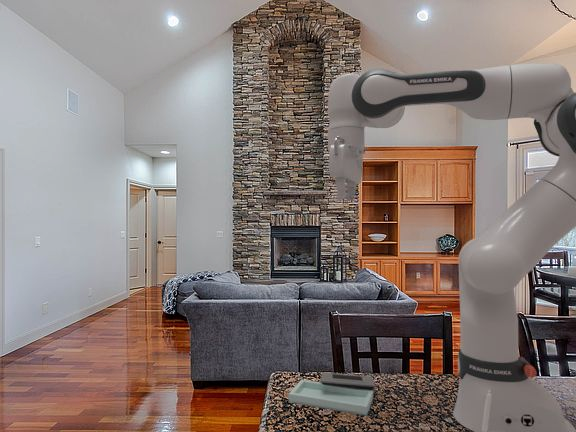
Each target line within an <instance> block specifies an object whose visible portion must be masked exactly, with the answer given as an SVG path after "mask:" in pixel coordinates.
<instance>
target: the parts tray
mask: <svg viewBox="0 0 576 432" xmlns="http://www.w3.org/2000/svg"><path fill="white" fill-rule="evenodd" d="M373 401H374V390H373V389H365V388H364V389H360V388H353V387H342V386H330V385H323V384H322V383H321V381H320V382H319V381H312V380H307V379H300V380H299V382H298V383H297V384H296V385H295V386H294V387H293V388H292V390H290V392H289V393H288V403H290V404H294V405H295V404H296V405H302V406H308V407H313V408H320V409H326V410H331V411H336V412H343V413H348V414H353V415H358V416H359V415H360V416H366V417H367V416H368V414H369V411H370V409H371V407H372V403H373Z"/></svg>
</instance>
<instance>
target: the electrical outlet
mask: <svg viewBox="0 0 576 432" xmlns="http://www.w3.org/2000/svg"><path fill="white" fill-rule="evenodd" d="M320 382H321V383H322V384H323V385H330V386H342V387H353V388H360V389H367V390H373V389H375V388H376V386H377V385H376V383H375V381H374V379H373V377H372V376H370V375H357V374H348V373H347V374H346V373H336V372H335V373H334V372H321V378H320Z"/></svg>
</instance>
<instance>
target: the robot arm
mask: <svg viewBox="0 0 576 432" xmlns="http://www.w3.org/2000/svg"><path fill="white" fill-rule="evenodd" d="M327 98H328V99H327V116H328V121H329V124H328V127H327V128H328V129H327V150H328V153H329V155H328V173H329V177H330V178H333V179H334V180H335V188H336V191H337V192H336V193H337V195H336V196H337V198H338V199H341V200H342V199H346V201H348V202H349V201H351V202H352V201H355V195H356V194H355V193H356V189H357V185H360V184H361V182H362V177H363V166H364V165H363V161H364V160H363V158H364V155H365V154H366V145H365V128H366V127H368V128H376V129H388V128H391V127H393V126H394V127H395V125H397V124H398V123H399V122H400V121H401V119H402V118H403V116H404V113H405V109H406V108H405V107H409V106H426V105H447V106H452V107H454V108H456V109H458V110H460V111H462V112H463V113H464V114H465V115H466V116H468V117H469V118H471V119H474V120H483V121H484V120H486V121H497V120H502V121H503V120H509V119H511V120H512V119H522V118H527V119H528V118H529V119H534V120H533V125H534V129H535V130H536V133H537V136H538V139H539V142H540V145H541V146H542V148H543V149H544V150H545V151H546V152H547V153H548V154H551V155H552V156H555V157H558V160H557V161H556V163H555V165H554V166H553V167H552V168H551V169H550V170H549V171H548V172H547V173H546V174H545V175H543V176H542V177H541V178H540V179H539V180H538V181H537V182H536V183H535V184H533V185H532V186H531V187H530V188H529V189H528V190H527V191H525V193H524V194H523V195H521V196H520V197H519V198H518V199H517V200H516V201H515V202H513V204H511V205H510V206H509V207H508V208H507V210H505V211H504V213H503V214H502V215H501V216H500V217H498V219H496V221H495V222H494V223H493V224H492V225H491V226H490V227H489V228H487V230H485V232H484V233H483V234H481V235H480V236H479V237H475V238H472V239H470V240H468V241H467V242H466V243H465V244H464V245H463V246H462V248H461V250H460V251H459V254H458V284H459V286H458V287H459V289H458V290H459V311H460V312H459V315H460V316H459V318H460V320H459V322H460V324H459V325H460V328H459V329H460V330H459V331H460V348H459V349H458V356H457V374H458V377H459V384H458V391H457V395H456V396H457V397H456V401H455V405H454V408H453V411H452V415H453V418H454V419H455V420H456V421H457V422H458V423H459V424H460V425H461V426H463V427H464V428H466V429H467V430H470V431H472V432H576V429H575V427H574V426H573V425H572V423H571V422H569V420H567V419H566V418H565V417H564V412H563V409H562V406H561V405H560V403H559V402H558V400H557V399H556V397H555V396H554V395H553V394H552V393H551V392H550V391H549V390H547V389H546V388H544V387H543V386H542V385H541V384H540V383H538V382H537V381H536V380H535V379H533V378H535V377H536V376H537V370H536V368H535V367H534V366H533V365H531V363H530V362H529V361H528V360H526V359H525V358H524V357H523V356H520V353H519V317H518V312H517V304H516V296H515V288H516V287H517V286H518V284H520V282H521V281H522V280H523V279H524V278H525V277H526V276H527V275H528V274H529V273H531V271H532V270H533V269H534V268H535V267H536V265H537V264H539V263H540V262H541V261H542V259H543V258H544V257H545V256H546V255H547V254H548V253H549V251H550V250H551V249H552V248H553V247H554V246H555V245H557V243H559V241H561V240H562V239H564V237H565V236H567V235H568V234H569V233H570V232H572V230H574V229H575V228H576V92H575V91H574V90H573V88H572V79H571V76H570V72H569V71H568V69H567V68H566V67H564V66H563V65H562V64H558V63H548V62H547V63H546V62H532V63H531V62H530V63H529V62H528V63H516V64H506V65H499V66H493V67H492V66H491V67H485V68H479V69H478V68H477V69H468V70H467V69H465V70H445V71H444V70H443V71H432V72H418V73H417V72H416V73H399V72H395V71H392V70H388V69H384V68H374V69H371V70H367V71H366V72H364V73H362V75H360V74H358V73H353V72H352V73H345V74H342V75H340V76H337V77H336V78H335V79H334V80H333V81H332V82H331V84H330V86H329V90H328V97H327ZM346 188H347V189H346Z"/></svg>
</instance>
